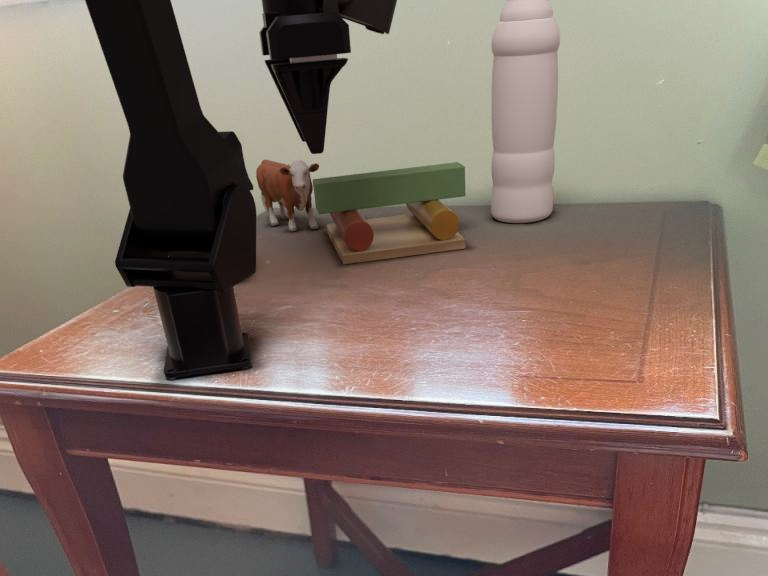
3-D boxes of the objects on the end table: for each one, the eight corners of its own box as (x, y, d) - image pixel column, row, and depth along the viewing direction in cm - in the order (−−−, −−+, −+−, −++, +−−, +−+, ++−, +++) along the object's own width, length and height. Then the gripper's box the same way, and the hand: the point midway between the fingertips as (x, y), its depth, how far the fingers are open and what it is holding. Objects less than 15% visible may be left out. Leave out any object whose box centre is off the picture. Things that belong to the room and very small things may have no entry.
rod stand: (465, 248, 80) (465, 208, 78) (343, 264, 78) (338, 224, 76) (434, 219, 91) (433, 183, 89) (327, 232, 90) (323, 197, 88)
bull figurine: (300, 240, 88) (289, 164, 83) (257, 221, 98) (246, 151, 93) (334, 233, 90) (325, 158, 85) (289, 214, 100) (279, 146, 95)
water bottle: (509, 207, 93) (512, -45, 79) (562, 211, 90) (576, -53, 76) (480, 221, 89) (478, -44, 75) (535, 226, 85) (544, -52, 71)
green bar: (465, 196, 82) (465, 166, 81) (319, 214, 81) (315, 184, 79) (458, 191, 85) (457, 161, 83) (315, 208, 83) (312, 179, 81)
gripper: (409, -87, 55) (419, 151, 63) (368, -60, 70) (381, 128, 79) (254, -77, 54) (285, 164, 62) (247, -51, 69) (273, 139, 78)
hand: (312, 147), depth 70 cm, fingers open, 9 cm apart
